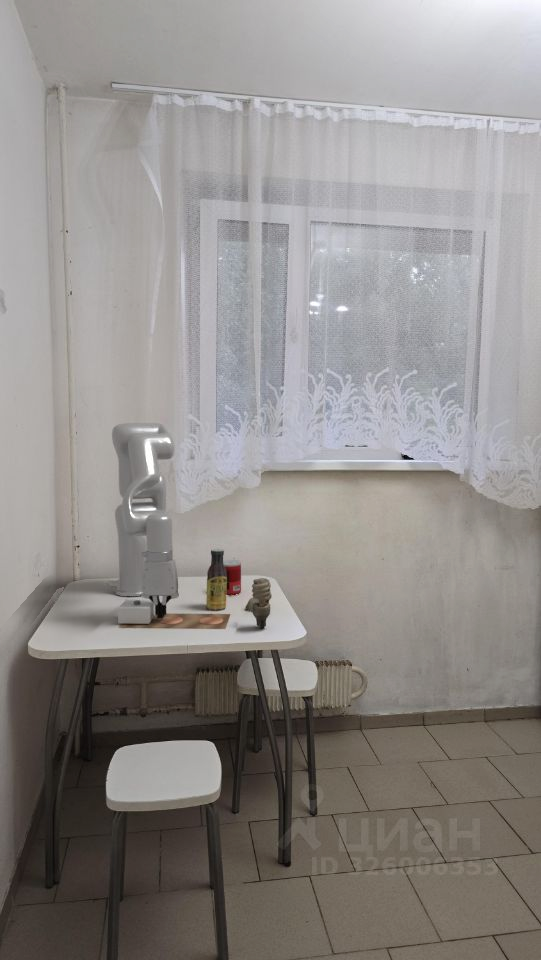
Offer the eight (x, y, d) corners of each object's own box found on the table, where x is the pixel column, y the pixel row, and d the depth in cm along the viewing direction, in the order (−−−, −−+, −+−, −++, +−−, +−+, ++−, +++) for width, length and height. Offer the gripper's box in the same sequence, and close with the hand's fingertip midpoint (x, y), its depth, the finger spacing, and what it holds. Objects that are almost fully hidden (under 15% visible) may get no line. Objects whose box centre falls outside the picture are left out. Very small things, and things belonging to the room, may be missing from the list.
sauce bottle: (209, 615, 202) (209, 552, 200) (203, 610, 207) (202, 548, 205) (229, 613, 204) (229, 550, 202) (223, 607, 210) (222, 547, 208)
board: (117, 631, 187) (117, 627, 187) (130, 616, 201) (130, 612, 201) (225, 633, 186) (225, 628, 186) (230, 617, 200) (230, 613, 199)
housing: (118, 623, 189) (117, 605, 189) (126, 613, 198) (125, 596, 198) (149, 623, 189) (148, 605, 188) (155, 614, 198) (155, 597, 197)
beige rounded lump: (261, 614, 203) (261, 583, 202) (243, 609, 208) (243, 579, 207) (273, 611, 207) (273, 580, 206) (255, 606, 212) (255, 576, 211)
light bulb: (273, 631, 187) (273, 579, 186) (254, 632, 186) (254, 581, 184) (267, 624, 193) (267, 575, 191) (249, 626, 191) (249, 576, 190)
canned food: (242, 590, 231) (242, 559, 230) (239, 596, 223) (239, 564, 222) (221, 589, 232) (220, 559, 231) (217, 595, 224) (216, 564, 223)
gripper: (131, 558, 188) (132, 620, 190) (182, 559, 187) (183, 621, 189) (137, 553, 195) (139, 613, 197) (187, 553, 195) (188, 613, 197)
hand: (160, 616), depth 193 cm, fingers closed
